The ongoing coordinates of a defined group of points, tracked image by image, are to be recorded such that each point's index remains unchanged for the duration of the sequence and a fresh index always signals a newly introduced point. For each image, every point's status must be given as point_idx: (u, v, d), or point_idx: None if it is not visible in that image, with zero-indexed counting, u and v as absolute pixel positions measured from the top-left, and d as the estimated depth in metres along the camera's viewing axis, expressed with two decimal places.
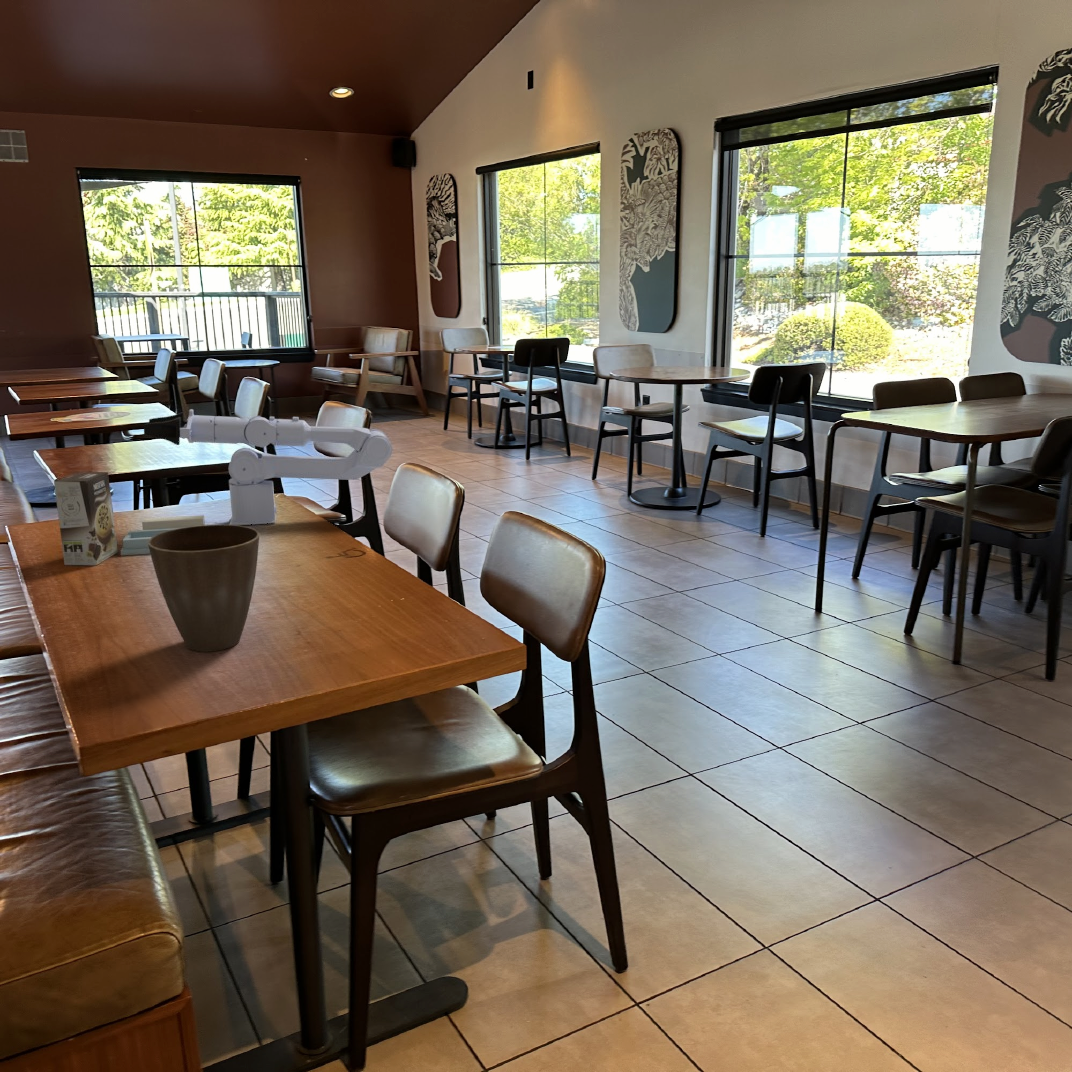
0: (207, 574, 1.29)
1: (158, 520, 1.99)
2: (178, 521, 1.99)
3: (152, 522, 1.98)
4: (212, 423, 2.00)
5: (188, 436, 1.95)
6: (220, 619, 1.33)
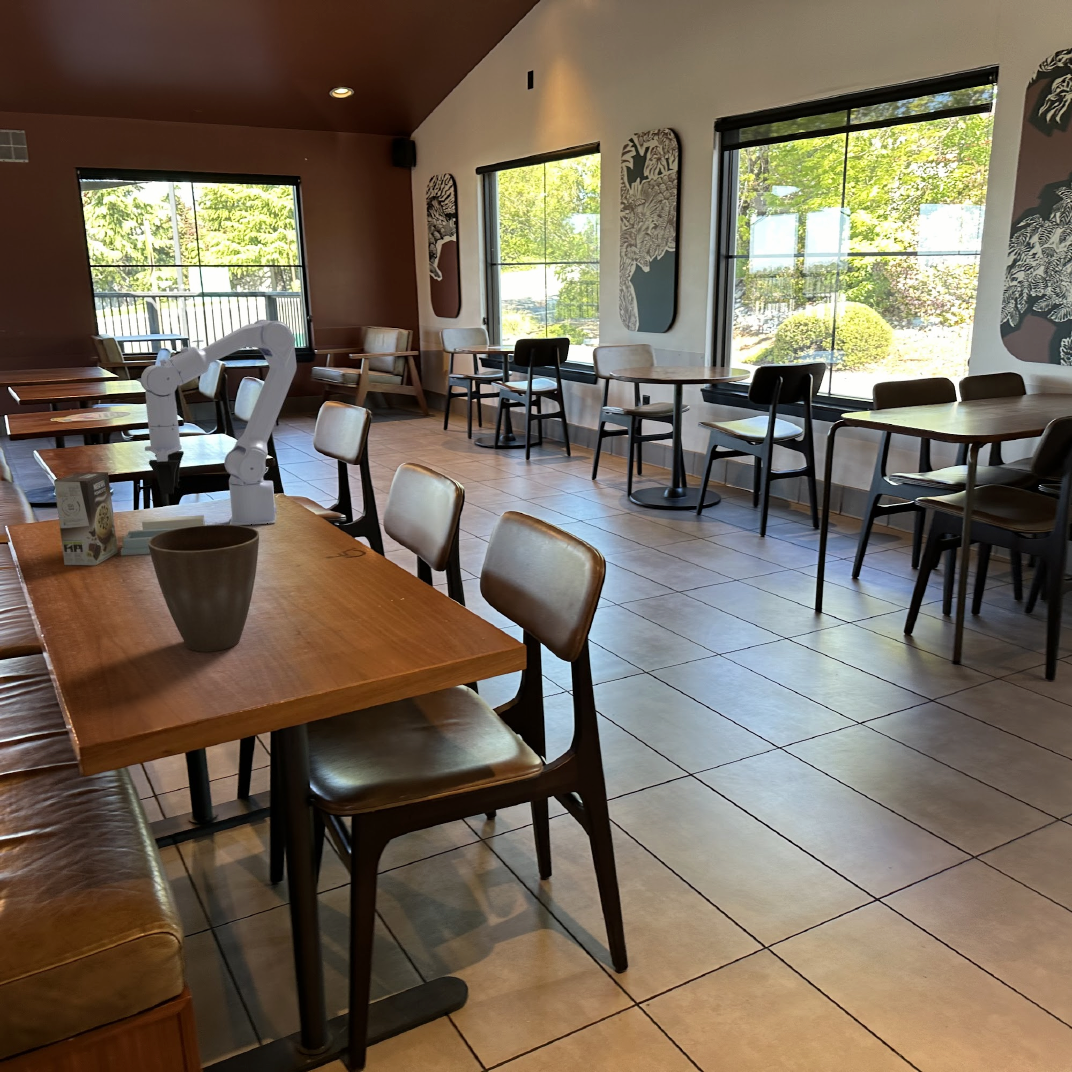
0: (207, 574, 1.29)
1: (158, 520, 1.99)
2: (178, 521, 1.99)
3: (152, 522, 1.98)
4: (153, 428, 1.93)
5: (164, 453, 1.90)
6: (220, 619, 1.33)
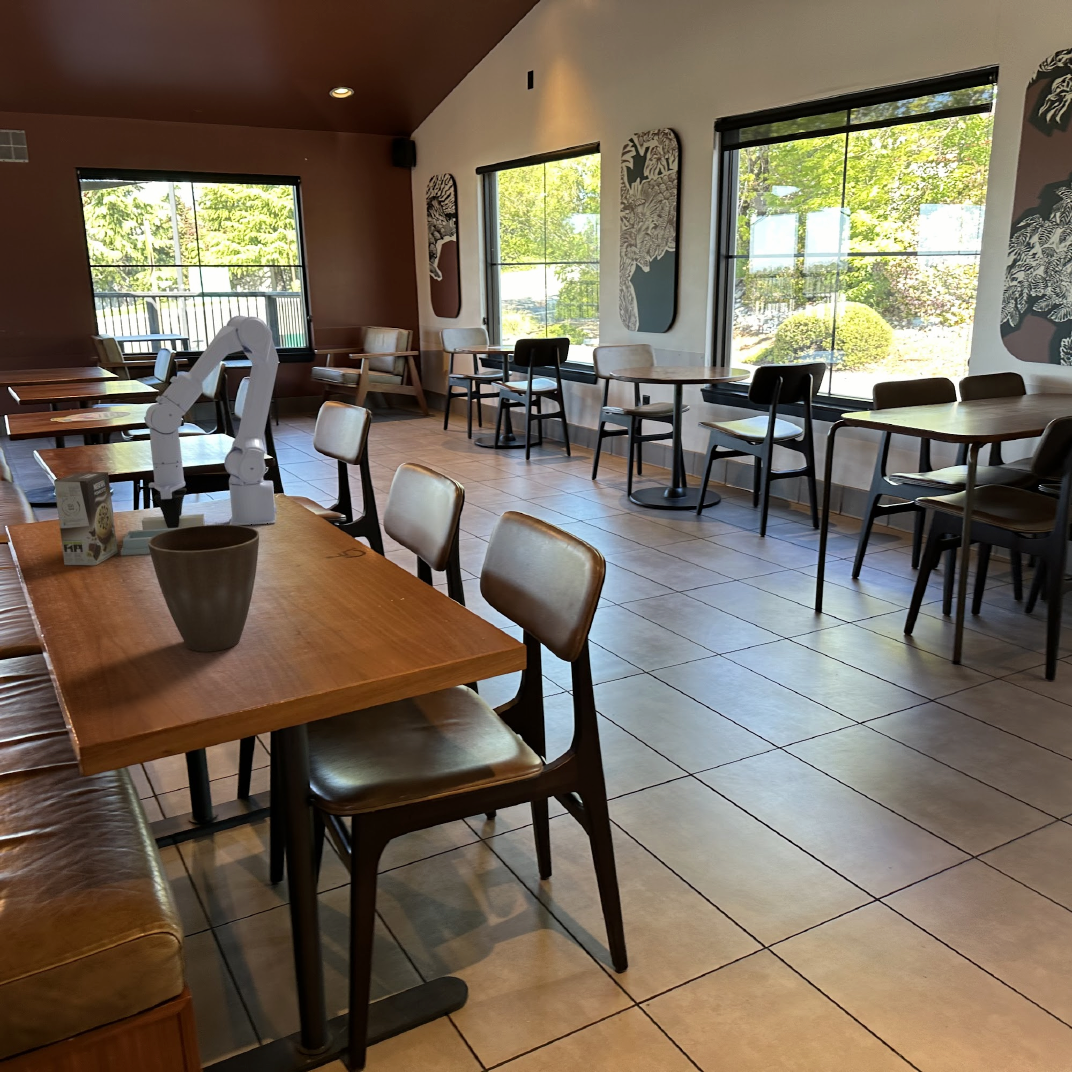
0: (207, 574, 1.29)
1: (158, 519, 1.99)
2: None
3: (152, 521, 1.98)
4: (157, 465, 1.95)
5: (168, 490, 1.92)
6: (220, 619, 1.33)
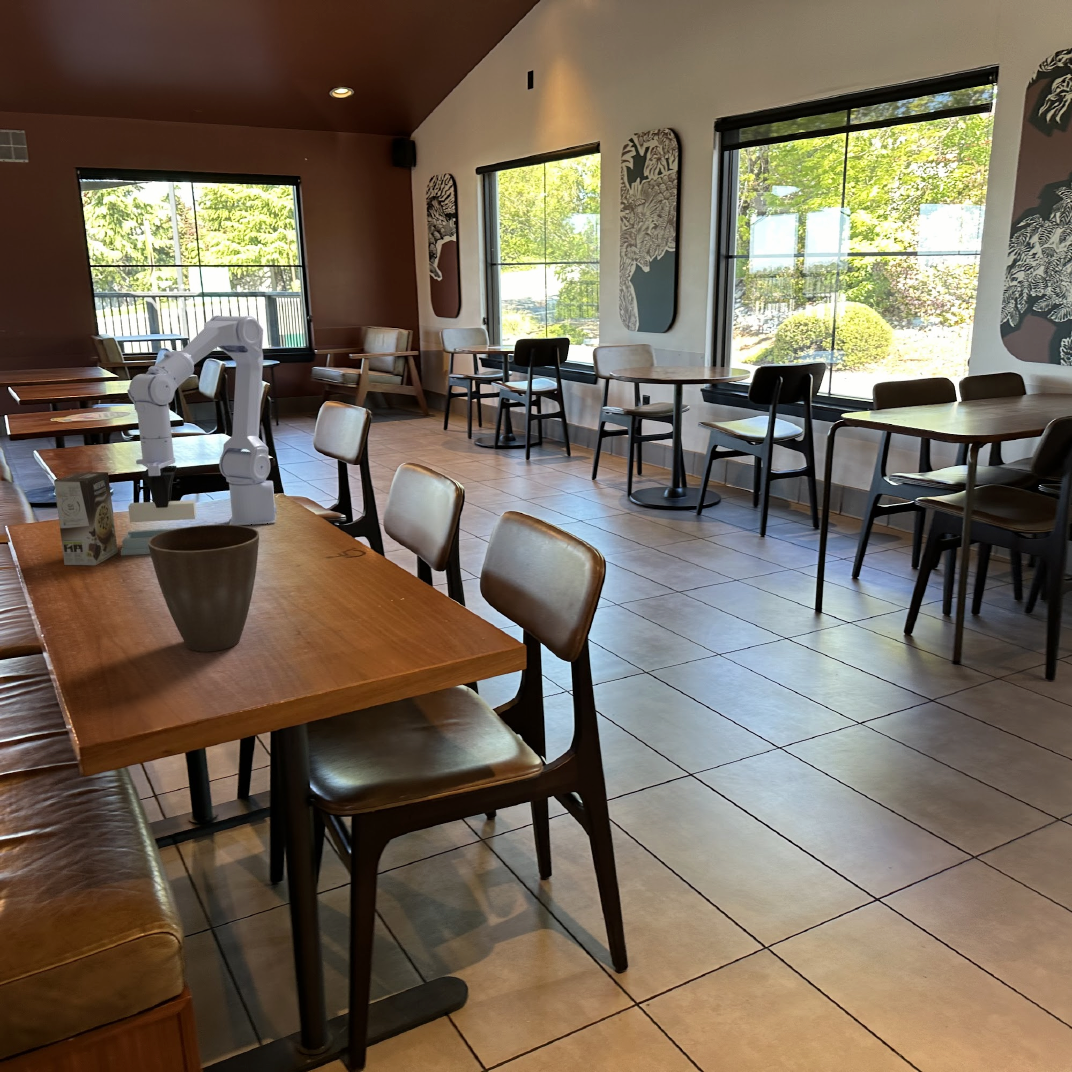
0: (207, 574, 1.29)
1: (146, 504, 1.86)
2: None
3: (139, 506, 1.85)
4: (145, 440, 1.82)
5: (156, 467, 1.79)
6: (220, 619, 1.33)
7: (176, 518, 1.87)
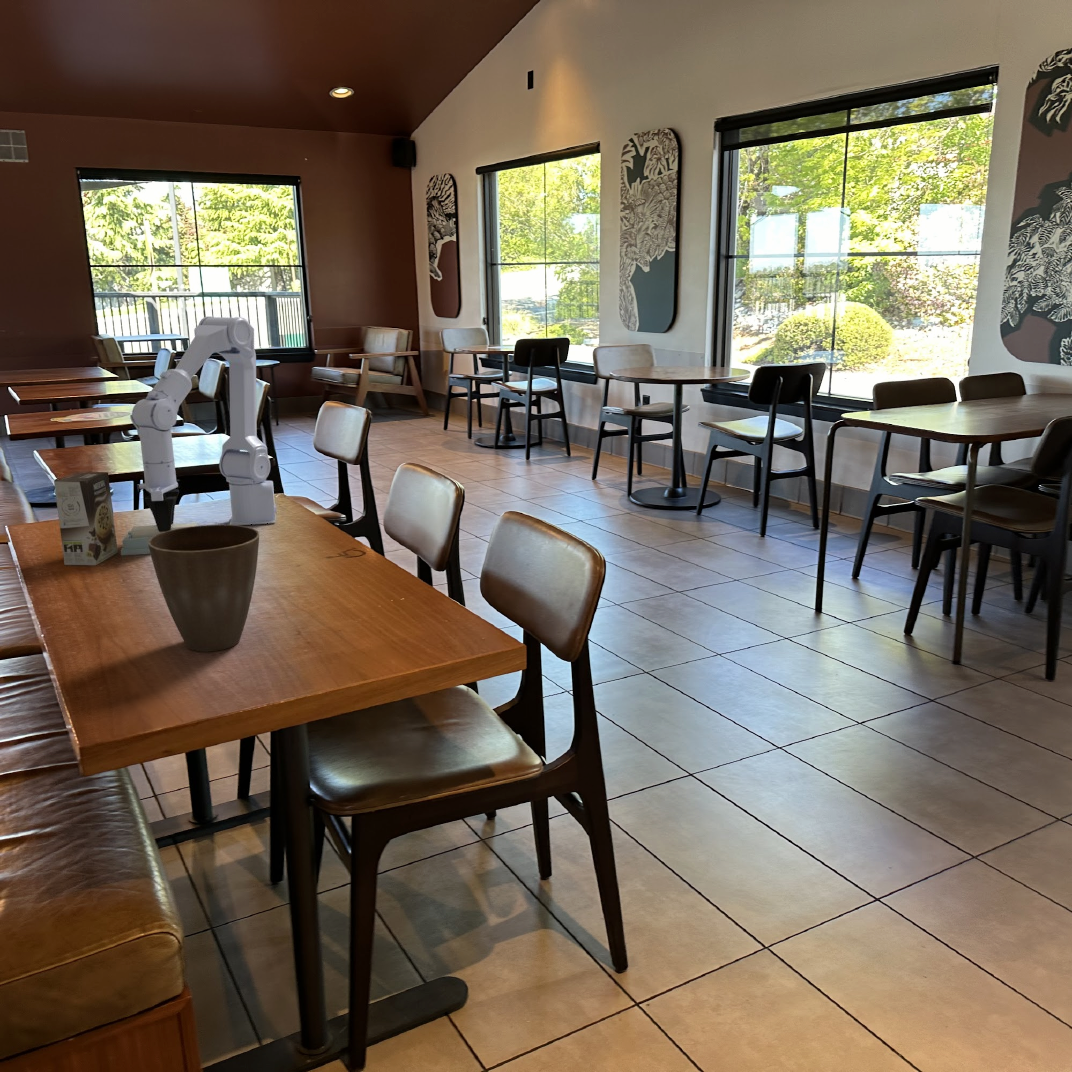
0: (207, 574, 1.29)
1: (148, 528, 1.87)
2: None
3: (142, 530, 1.86)
4: (148, 465, 1.83)
5: (159, 492, 1.80)
6: (220, 619, 1.33)
7: None
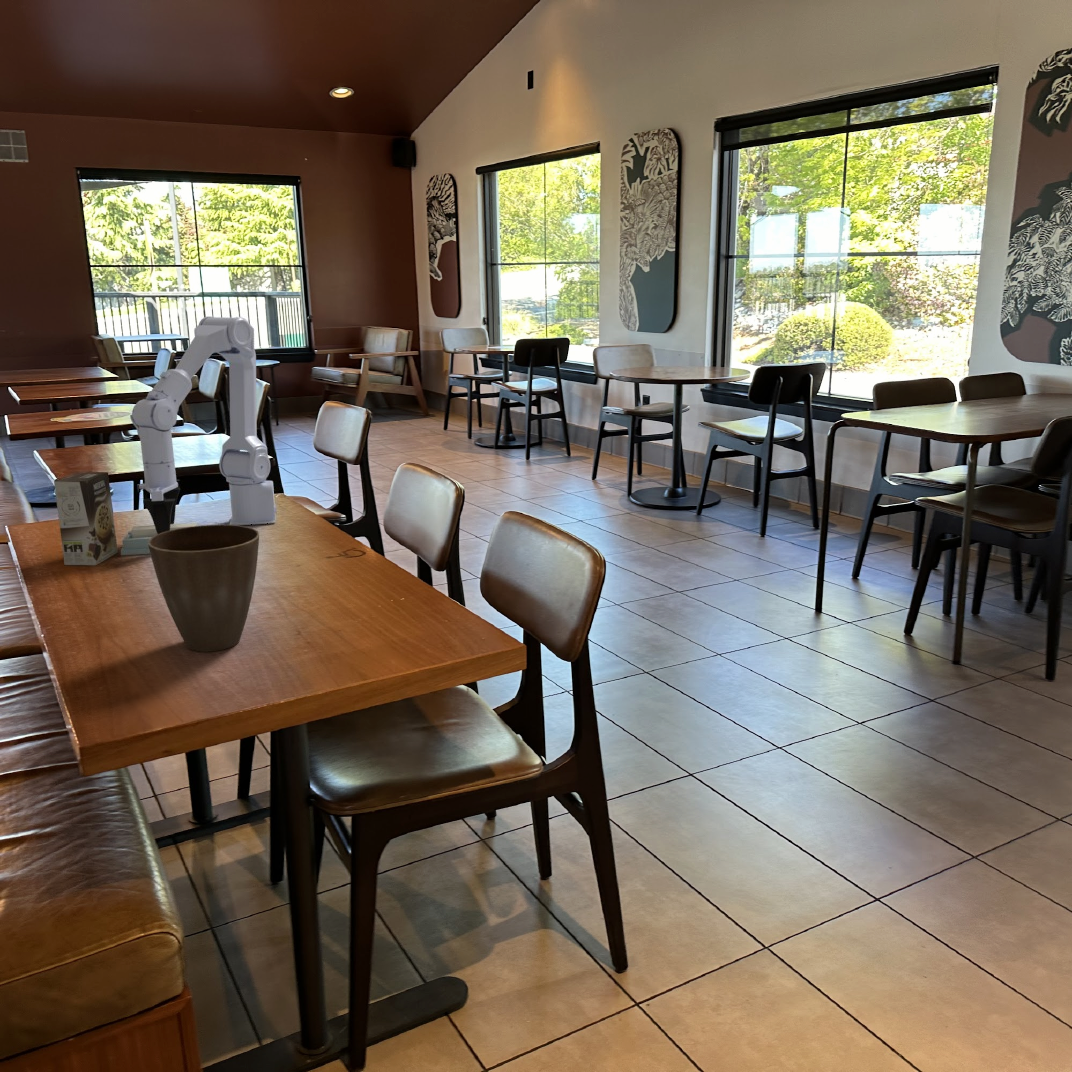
0: (207, 574, 1.29)
1: (148, 528, 1.87)
2: None
3: (142, 530, 1.86)
4: (148, 465, 1.83)
5: (159, 492, 1.80)
6: (220, 619, 1.33)
7: None
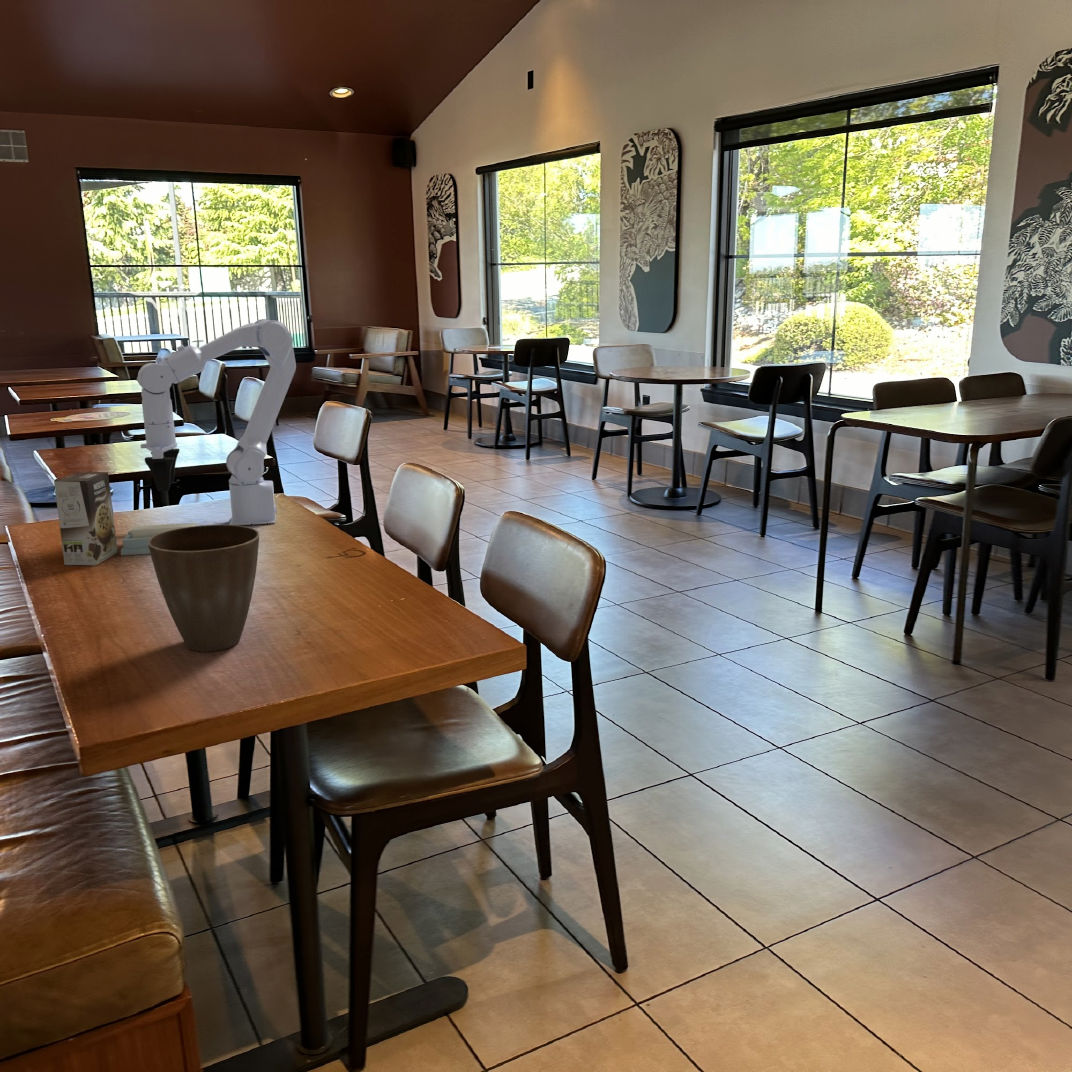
0: (207, 574, 1.29)
1: (148, 528, 1.87)
2: (169, 529, 1.88)
3: (142, 530, 1.86)
4: (149, 426, 1.94)
5: (159, 450, 1.91)
6: (220, 619, 1.33)
7: None
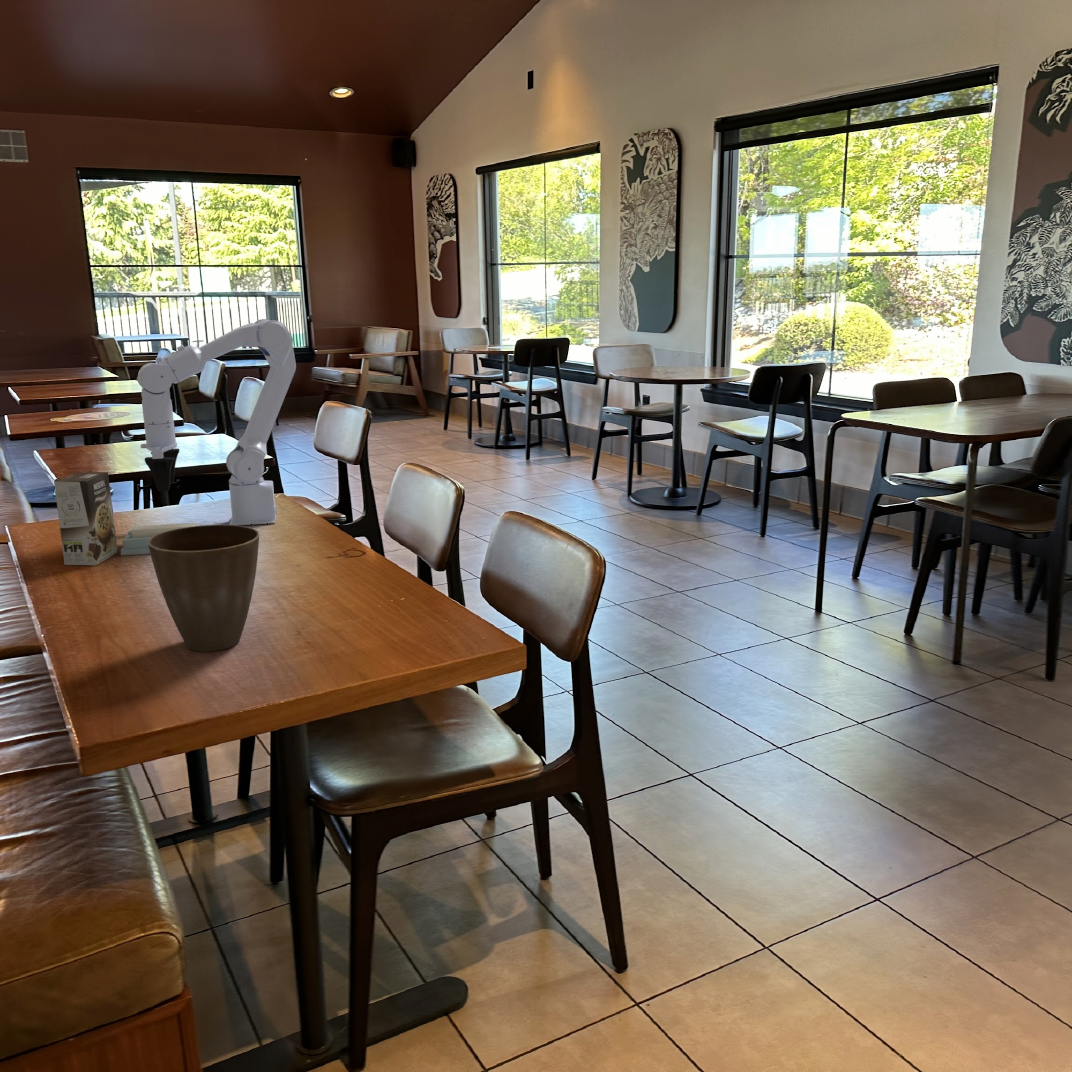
0: (207, 574, 1.29)
1: (148, 528, 1.87)
2: (169, 529, 1.88)
3: (142, 530, 1.86)
4: (149, 426, 1.94)
5: (159, 450, 1.91)
6: (220, 619, 1.33)
7: None
